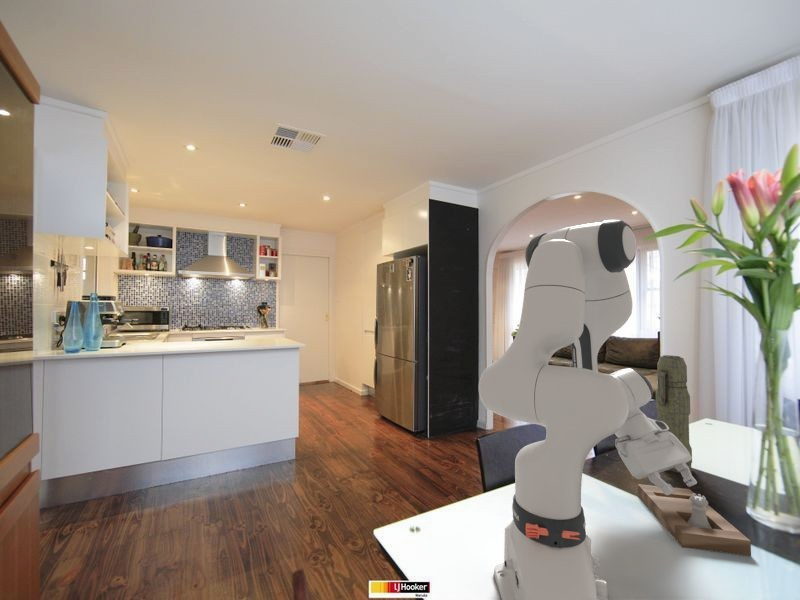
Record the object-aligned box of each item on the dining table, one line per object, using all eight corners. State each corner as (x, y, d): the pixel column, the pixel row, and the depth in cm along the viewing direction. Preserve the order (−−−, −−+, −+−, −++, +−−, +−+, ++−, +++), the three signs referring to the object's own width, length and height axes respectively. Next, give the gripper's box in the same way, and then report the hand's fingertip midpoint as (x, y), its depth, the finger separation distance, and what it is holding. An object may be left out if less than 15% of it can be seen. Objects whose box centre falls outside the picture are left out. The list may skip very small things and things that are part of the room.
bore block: (751, 556, 72) (750, 540, 72) (682, 547, 75) (681, 532, 75) (689, 500, 94) (689, 489, 94) (637, 495, 96) (637, 484, 97)
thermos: (699, 468, 114) (696, 356, 115) (682, 476, 108) (679, 358, 109) (667, 458, 121) (664, 353, 123) (649, 465, 115) (647, 355, 117)
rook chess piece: (718, 540, 77) (716, 502, 78) (693, 537, 78) (692, 500, 79) (705, 528, 82) (704, 492, 82) (682, 525, 83) (681, 490, 83)
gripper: (620, 432, 85) (668, 493, 76) (668, 421, 94) (716, 474, 85) (602, 445, 89) (645, 505, 80) (650, 433, 98) (694, 486, 89)
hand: (682, 489), depth 82 cm, fingers open, 8 cm apart
